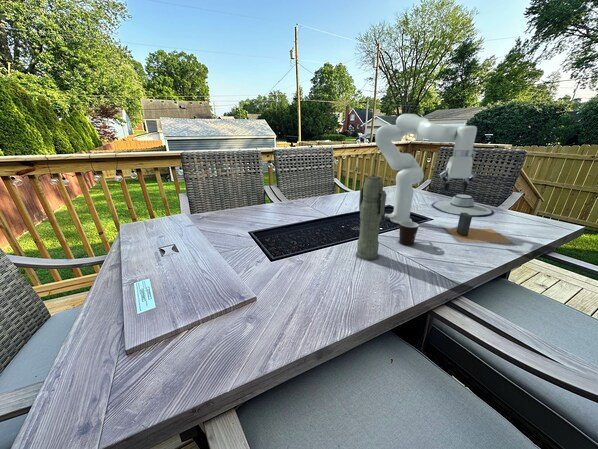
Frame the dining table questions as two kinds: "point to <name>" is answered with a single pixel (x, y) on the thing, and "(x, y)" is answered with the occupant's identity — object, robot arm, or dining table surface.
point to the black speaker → (464, 224)
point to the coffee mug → (407, 232)
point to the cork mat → (479, 235)
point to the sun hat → (462, 206)
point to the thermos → (370, 216)
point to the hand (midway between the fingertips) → (454, 190)
